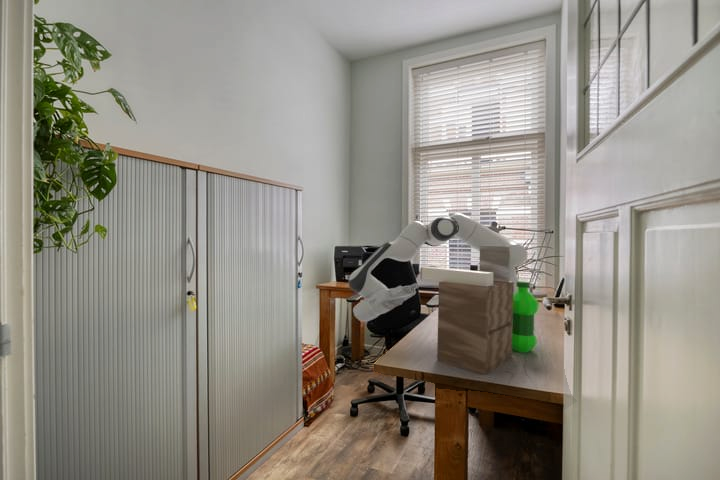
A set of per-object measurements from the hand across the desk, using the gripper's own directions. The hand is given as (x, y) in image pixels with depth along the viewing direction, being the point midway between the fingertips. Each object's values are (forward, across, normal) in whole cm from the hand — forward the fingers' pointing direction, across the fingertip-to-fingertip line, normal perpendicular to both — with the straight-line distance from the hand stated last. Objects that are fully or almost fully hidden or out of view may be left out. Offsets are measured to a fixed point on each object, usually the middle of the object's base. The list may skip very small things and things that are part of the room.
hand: (409, 286), depth 128 cm
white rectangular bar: (+18, 0, +6) cm, 19 cm away
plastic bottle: (+15, +27, +35) cm, 47 cm away
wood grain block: (+9, +6, +31) cm, 33 cm away
